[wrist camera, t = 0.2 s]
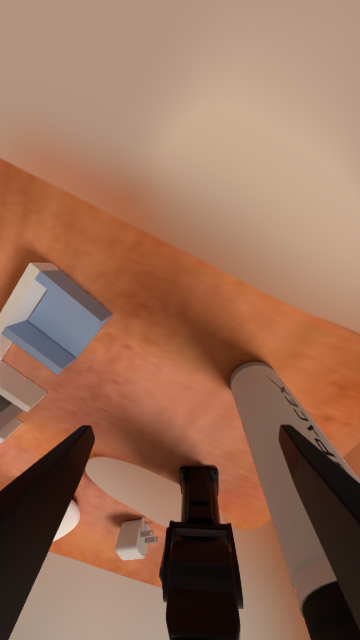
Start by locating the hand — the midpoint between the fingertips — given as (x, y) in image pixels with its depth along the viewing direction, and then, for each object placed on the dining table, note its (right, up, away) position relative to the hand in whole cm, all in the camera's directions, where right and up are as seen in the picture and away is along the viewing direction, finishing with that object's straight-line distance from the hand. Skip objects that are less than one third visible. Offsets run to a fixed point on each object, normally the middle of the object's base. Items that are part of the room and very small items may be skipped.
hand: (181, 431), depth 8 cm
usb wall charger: (-8, -36, +28) cm, 46 cm away
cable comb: (-21, -1, +17) cm, 27 cm away
